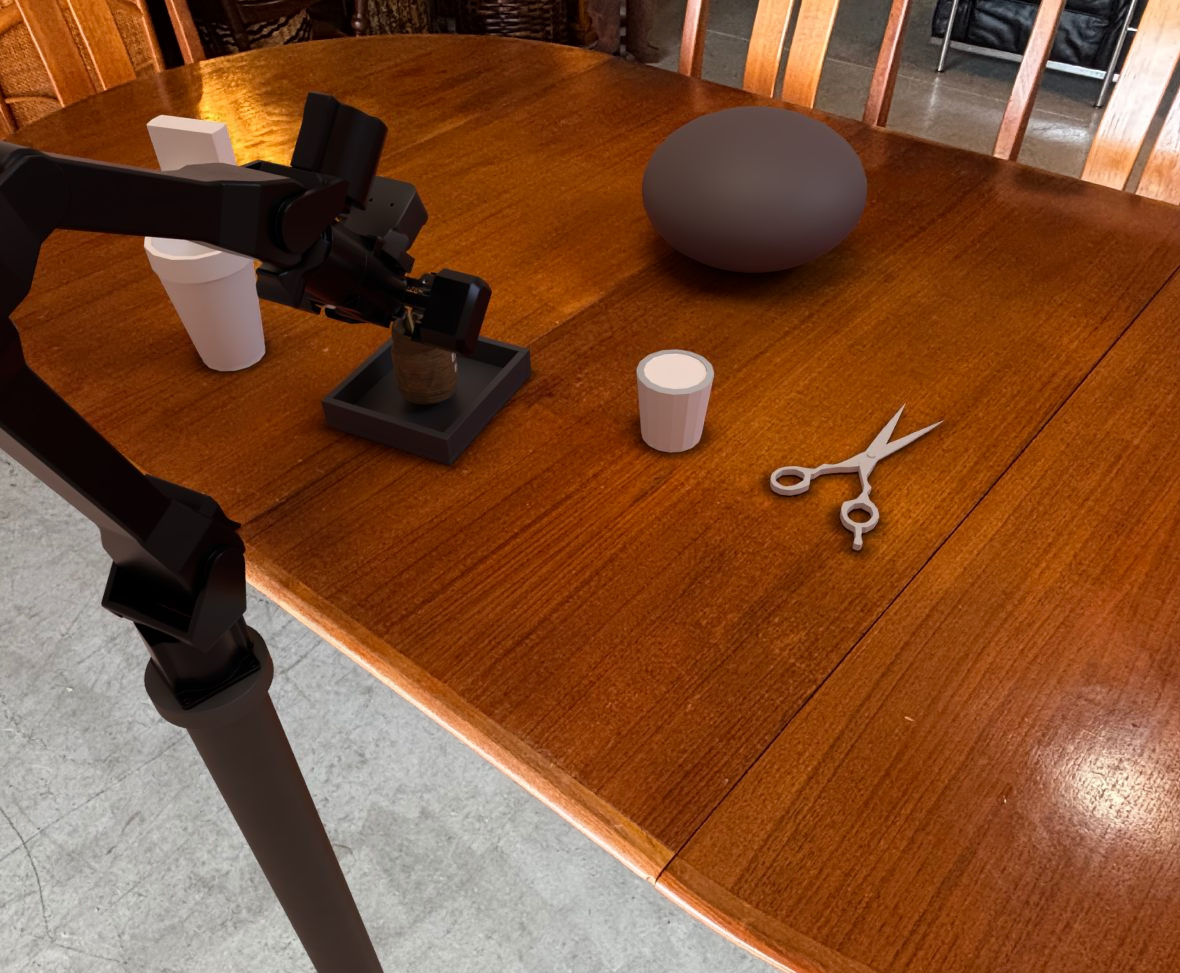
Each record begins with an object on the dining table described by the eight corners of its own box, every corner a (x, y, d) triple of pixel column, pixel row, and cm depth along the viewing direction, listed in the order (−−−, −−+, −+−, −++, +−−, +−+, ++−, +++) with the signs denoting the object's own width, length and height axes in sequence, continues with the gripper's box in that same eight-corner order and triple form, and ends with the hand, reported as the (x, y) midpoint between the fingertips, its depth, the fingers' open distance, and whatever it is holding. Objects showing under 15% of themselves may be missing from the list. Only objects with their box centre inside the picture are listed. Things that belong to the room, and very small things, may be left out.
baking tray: (450, 466, 89) (446, 439, 87) (327, 426, 93) (320, 400, 91) (531, 374, 98) (529, 349, 96) (416, 342, 102) (412, 317, 100)
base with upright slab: (163, 237, 118) (128, 135, 109) (204, 203, 124) (174, 104, 115) (229, 247, 116) (198, 145, 108) (267, 213, 122) (241, 113, 113)
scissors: (753, 487, 85) (877, 385, 95) (752, 494, 86) (875, 391, 96) (859, 545, 80) (978, 431, 90) (857, 552, 81) (975, 437, 91)
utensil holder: (417, 415, 91) (397, 298, 83) (385, 383, 95) (363, 268, 86) (471, 392, 94) (458, 276, 85) (438, 363, 97) (422, 249, 89)
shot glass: (669, 466, 88) (673, 403, 83) (619, 430, 92) (620, 367, 87) (723, 436, 91) (730, 372, 86) (673, 402, 95) (677, 339, 90)
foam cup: (172, 350, 102) (128, 231, 92) (254, 318, 106) (219, 201, 96) (212, 391, 97) (170, 270, 87) (296, 356, 101) (265, 237, 91)
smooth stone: (602, 231, 118) (602, 101, 107) (774, 186, 126) (790, 61, 115) (711, 330, 103) (724, 192, 92) (899, 273, 111) (931, 139, 100)
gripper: (469, 183, 72) (544, 257, 87) (265, 139, 78) (368, 215, 93) (425, 330, 73) (506, 378, 88) (226, 276, 79) (335, 329, 94)
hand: (428, 321), depth 90 cm, fingers closed on utensil holder, 5 cm apart
